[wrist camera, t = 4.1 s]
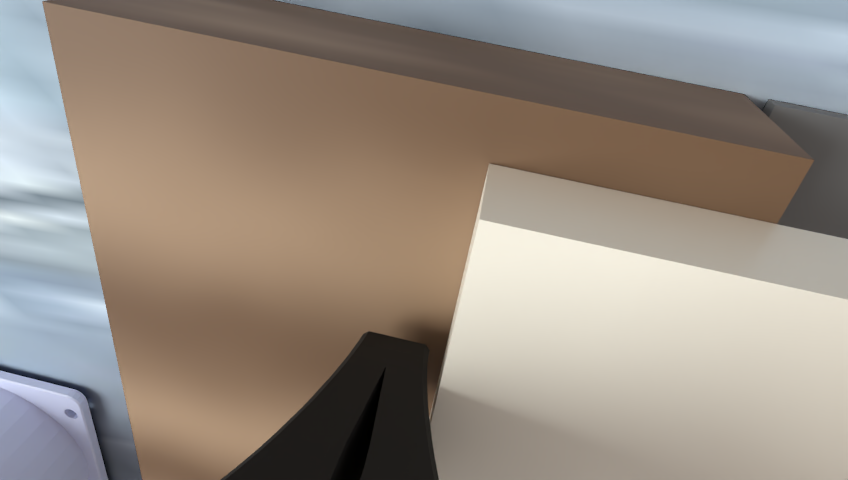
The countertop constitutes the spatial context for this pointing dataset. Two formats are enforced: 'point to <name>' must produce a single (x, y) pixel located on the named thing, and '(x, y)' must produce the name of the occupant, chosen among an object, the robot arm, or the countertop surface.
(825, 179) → the mat
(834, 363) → the block
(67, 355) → the countertop surface
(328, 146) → the board
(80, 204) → the countertop surface
